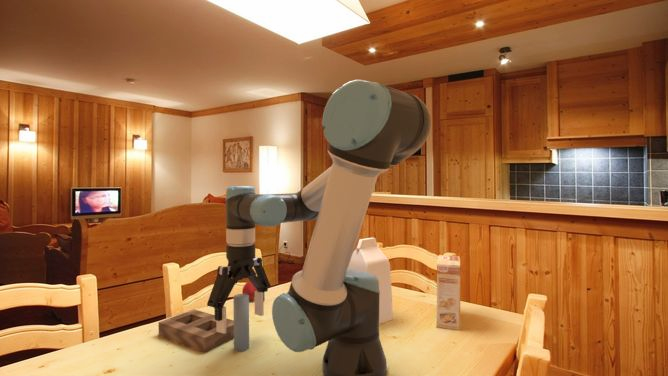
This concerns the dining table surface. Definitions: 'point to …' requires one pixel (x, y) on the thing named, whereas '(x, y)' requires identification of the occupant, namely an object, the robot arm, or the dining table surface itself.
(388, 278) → the milk
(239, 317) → the peg
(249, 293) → the onion
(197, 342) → the socket board
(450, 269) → the coffeecake box
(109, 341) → the dining table surface
